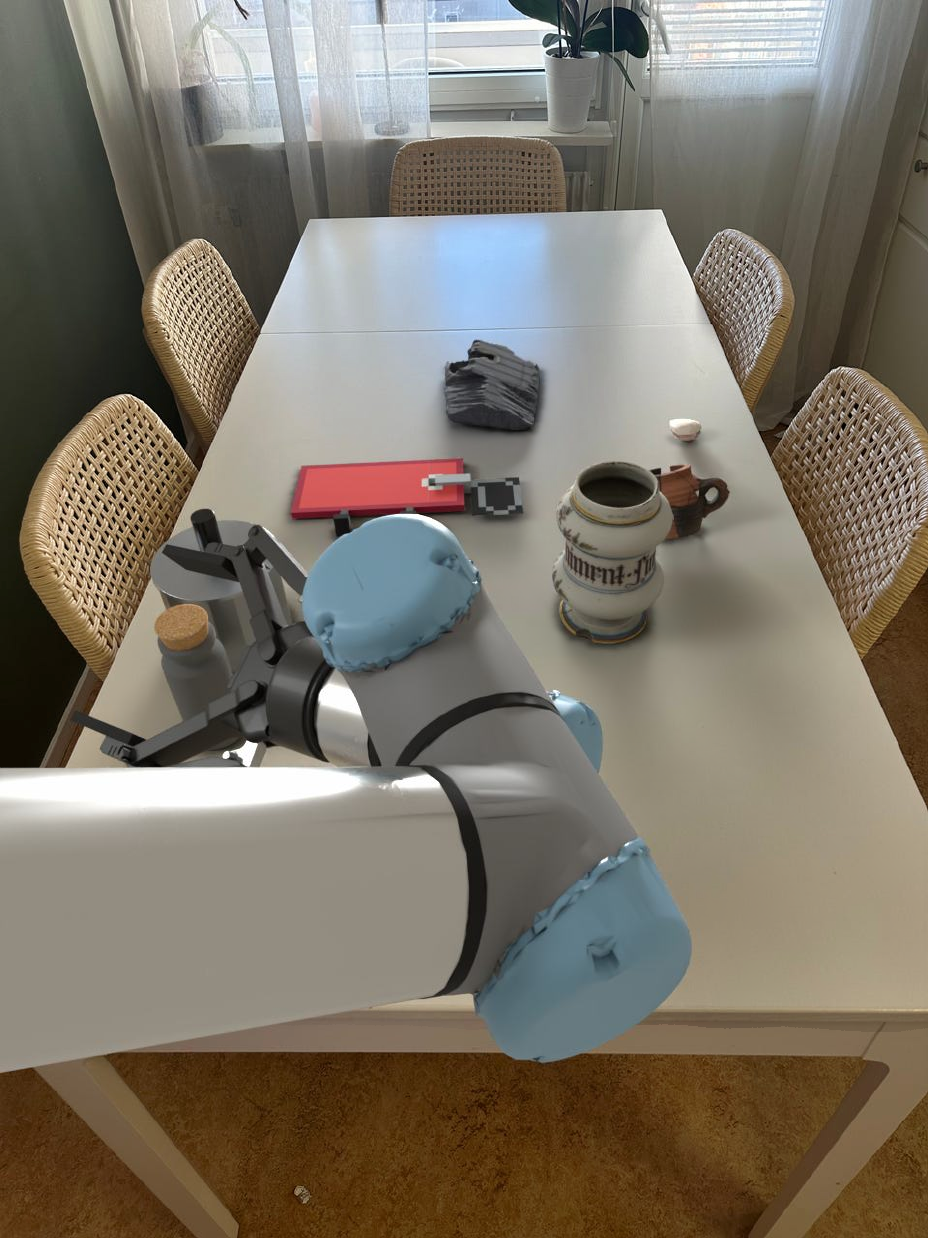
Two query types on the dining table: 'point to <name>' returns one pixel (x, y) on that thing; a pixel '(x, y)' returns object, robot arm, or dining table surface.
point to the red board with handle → (398, 490)
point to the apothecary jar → (610, 550)
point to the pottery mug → (689, 498)
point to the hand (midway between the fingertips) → (132, 636)
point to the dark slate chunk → (492, 388)
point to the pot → (235, 620)
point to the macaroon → (685, 429)
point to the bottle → (192, 660)
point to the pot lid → (204, 531)
